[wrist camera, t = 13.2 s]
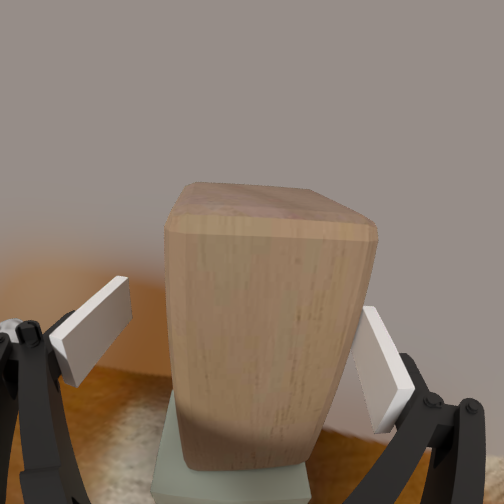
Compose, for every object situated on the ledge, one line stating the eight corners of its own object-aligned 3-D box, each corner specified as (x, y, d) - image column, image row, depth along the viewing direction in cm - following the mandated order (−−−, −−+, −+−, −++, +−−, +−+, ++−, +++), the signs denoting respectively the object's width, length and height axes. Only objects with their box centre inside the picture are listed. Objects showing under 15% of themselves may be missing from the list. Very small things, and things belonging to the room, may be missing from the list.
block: (284, 388, 29) (317, 188, 22) (310, 466, 19) (390, 221, 13) (185, 390, 27) (182, 180, 20) (184, 475, 18) (160, 208, 11)
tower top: (160, 511, 17) (150, 491, 16) (175, 419, 29) (172, 389, 27) (298, 516, 18) (311, 497, 16) (284, 424, 29) (291, 396, 28)
